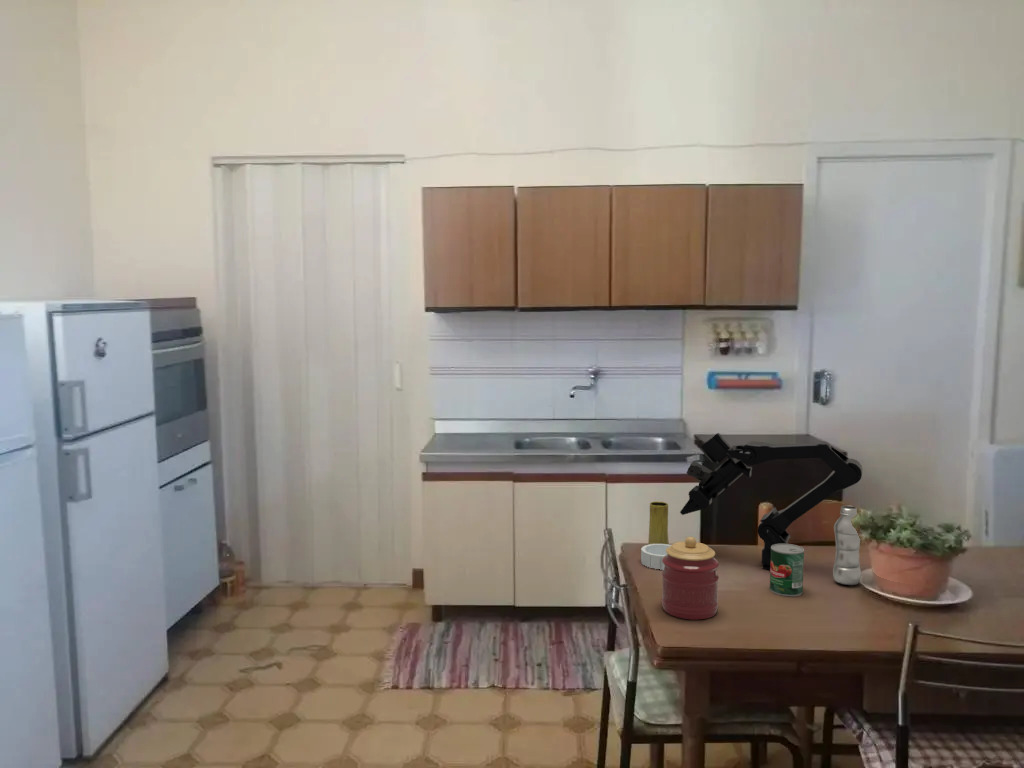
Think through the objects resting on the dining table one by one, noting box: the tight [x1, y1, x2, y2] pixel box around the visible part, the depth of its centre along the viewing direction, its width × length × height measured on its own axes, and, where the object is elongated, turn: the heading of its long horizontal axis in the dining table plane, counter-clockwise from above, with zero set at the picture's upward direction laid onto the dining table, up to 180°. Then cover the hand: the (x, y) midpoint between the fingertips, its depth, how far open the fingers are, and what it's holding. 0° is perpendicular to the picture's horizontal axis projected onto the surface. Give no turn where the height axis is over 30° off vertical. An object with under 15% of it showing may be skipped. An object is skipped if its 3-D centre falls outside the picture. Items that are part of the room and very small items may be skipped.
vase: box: [647, 501, 670, 545], centre depth 223 cm, size 6×6×14 cm
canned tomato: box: [769, 543, 805, 597], centre depth 191 cm, size 8×8×11 cm
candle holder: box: [640, 544, 673, 571], centre depth 212 cm, size 11×11×4 cm
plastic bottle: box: [832, 505, 862, 586], centre depth 195 cm, size 6×7×20 cm
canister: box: [661, 536, 720, 621], centre depth 179 cm, size 13×13×18 cm
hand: (685, 509), depth 219 cm, fingers open, 9 cm apart
